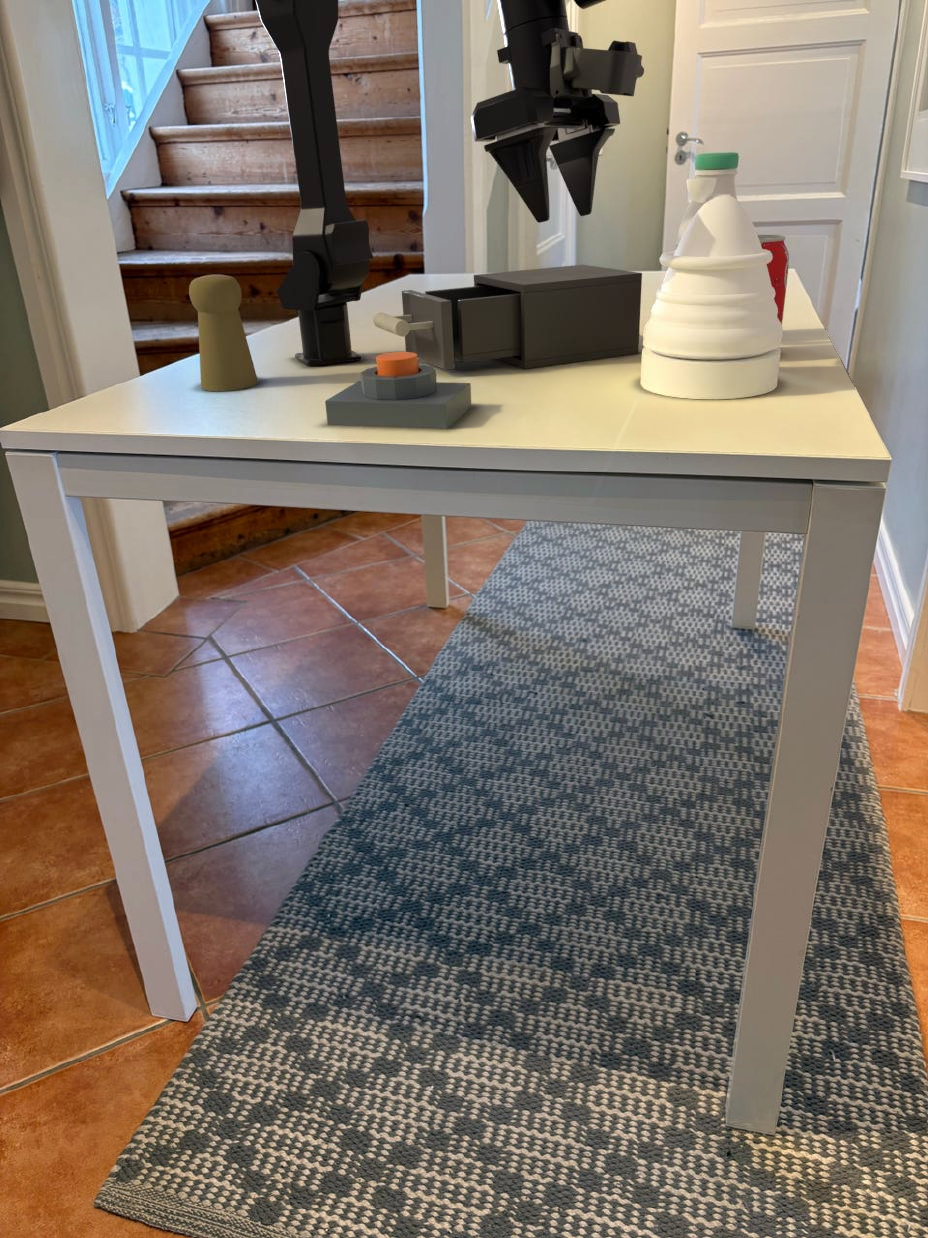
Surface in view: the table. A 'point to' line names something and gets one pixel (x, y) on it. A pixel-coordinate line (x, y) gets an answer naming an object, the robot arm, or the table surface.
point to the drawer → (458, 324)
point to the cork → (221, 334)
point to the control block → (399, 401)
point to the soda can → (777, 268)
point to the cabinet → (573, 313)
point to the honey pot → (714, 308)
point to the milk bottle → (714, 168)
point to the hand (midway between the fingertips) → (565, 218)
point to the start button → (397, 364)
